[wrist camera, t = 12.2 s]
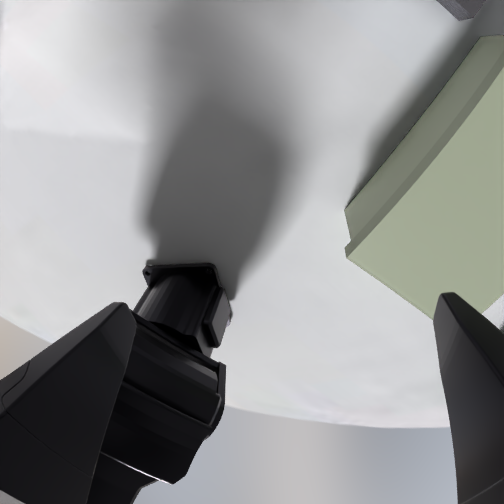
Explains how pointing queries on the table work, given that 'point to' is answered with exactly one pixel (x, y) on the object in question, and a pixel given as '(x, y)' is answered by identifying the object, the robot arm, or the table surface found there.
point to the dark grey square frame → (462, 7)
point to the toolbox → (441, 195)
